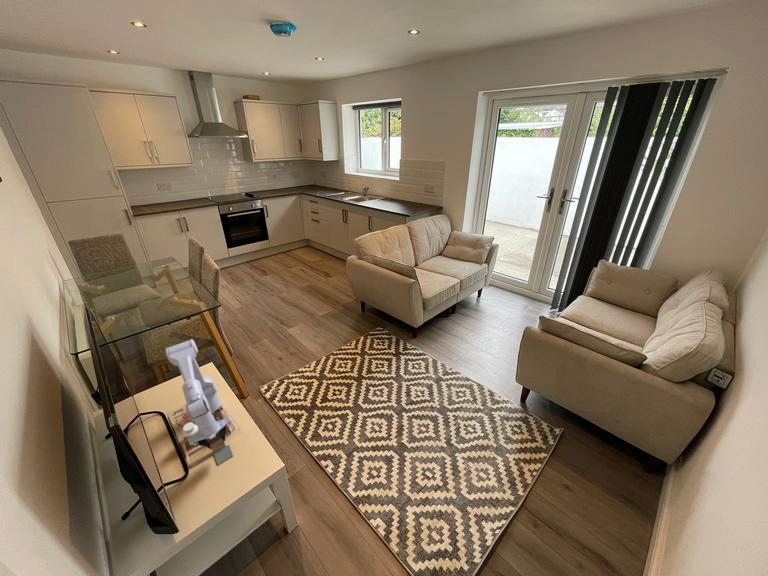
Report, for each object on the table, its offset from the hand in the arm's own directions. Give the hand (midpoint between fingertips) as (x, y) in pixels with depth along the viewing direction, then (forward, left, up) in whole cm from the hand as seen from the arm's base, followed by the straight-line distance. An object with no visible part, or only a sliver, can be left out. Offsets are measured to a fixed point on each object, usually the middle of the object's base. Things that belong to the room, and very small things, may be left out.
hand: (217, 442), depth 122 cm
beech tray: (-11, -5, -9) cm, 15 cm away
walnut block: (0, 0, -2) cm, 2 cm away
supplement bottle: (-15, -7, -9) cm, 19 cm away
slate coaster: (0, 0, -9) cm, 9 cm away
